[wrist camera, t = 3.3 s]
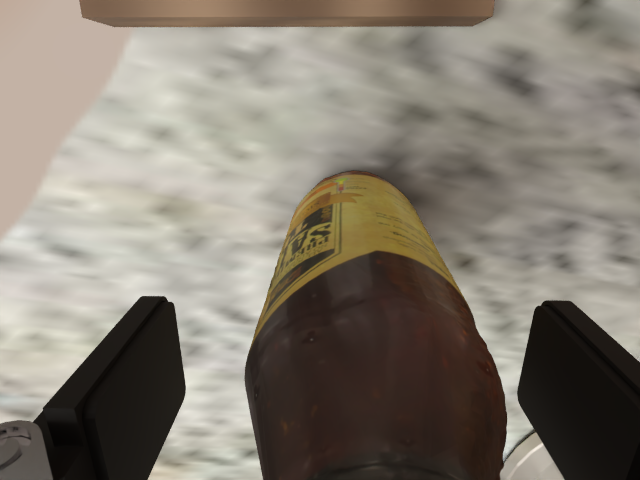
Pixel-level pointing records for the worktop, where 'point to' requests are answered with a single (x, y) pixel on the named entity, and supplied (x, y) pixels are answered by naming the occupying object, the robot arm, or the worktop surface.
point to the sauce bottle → (370, 350)
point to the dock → (286, 13)
